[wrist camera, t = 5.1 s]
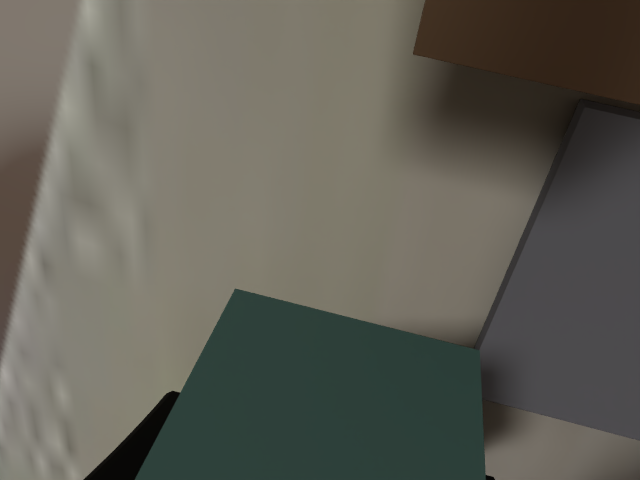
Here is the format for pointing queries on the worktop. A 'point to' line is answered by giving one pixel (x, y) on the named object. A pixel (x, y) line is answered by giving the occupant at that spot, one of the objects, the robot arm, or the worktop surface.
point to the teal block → (321, 402)
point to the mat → (575, 285)
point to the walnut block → (540, 41)
